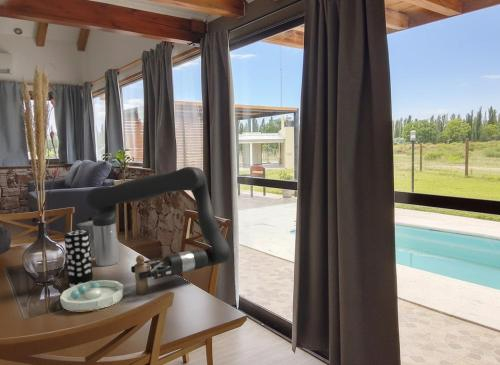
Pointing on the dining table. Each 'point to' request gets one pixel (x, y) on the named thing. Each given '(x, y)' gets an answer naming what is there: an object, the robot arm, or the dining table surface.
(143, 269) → the pepper mill
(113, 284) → the tray
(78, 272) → the white-spotted black cylinder
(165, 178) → the robot arm
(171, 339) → the dining table surface
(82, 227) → the coffeepot
